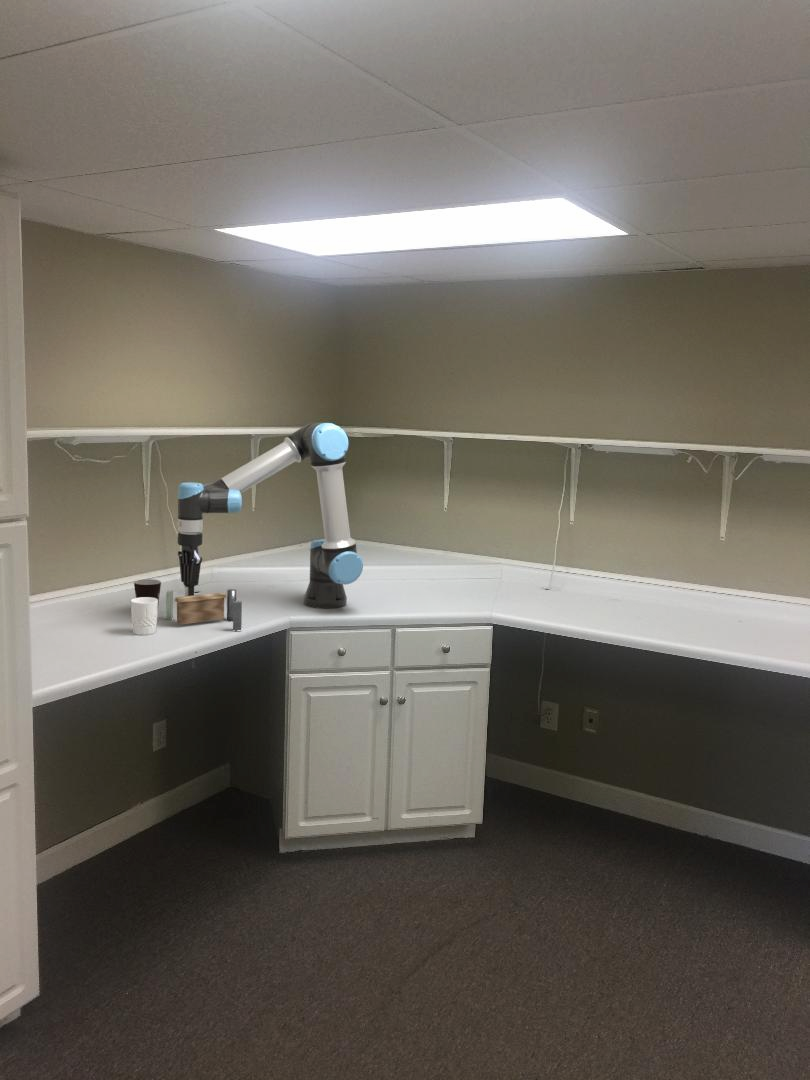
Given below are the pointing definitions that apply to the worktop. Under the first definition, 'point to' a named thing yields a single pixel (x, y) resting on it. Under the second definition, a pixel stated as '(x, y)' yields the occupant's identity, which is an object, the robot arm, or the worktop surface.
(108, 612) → the worktop surface
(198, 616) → the wooden flat block
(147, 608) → the white cup
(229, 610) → the gate frame
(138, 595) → the coffee mug
